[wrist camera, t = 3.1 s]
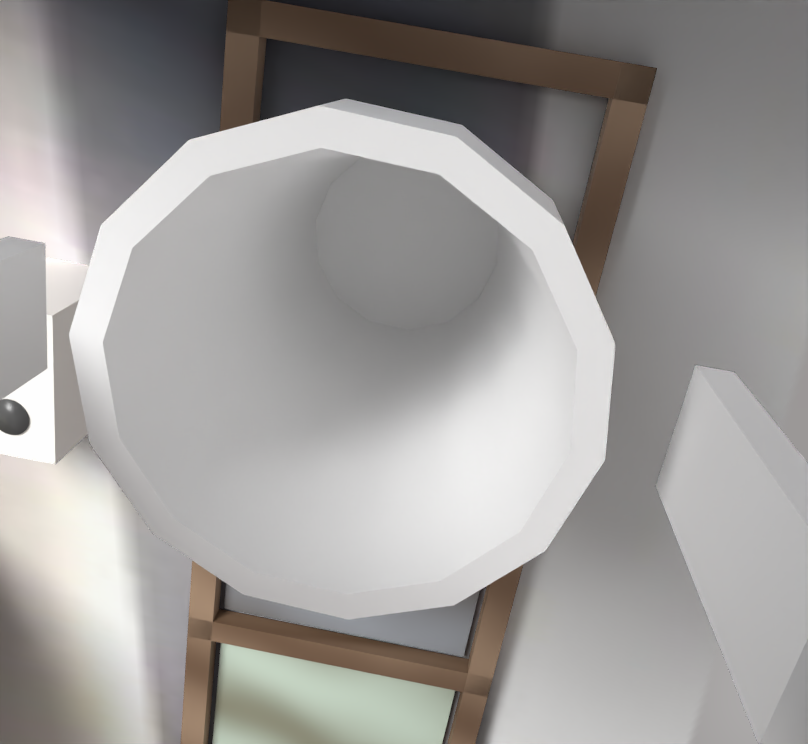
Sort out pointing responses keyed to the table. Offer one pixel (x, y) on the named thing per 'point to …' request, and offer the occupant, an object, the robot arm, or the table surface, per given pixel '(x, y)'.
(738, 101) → the table surface
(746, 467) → the robot arm
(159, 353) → the foam cup
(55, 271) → the white die
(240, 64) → the walnut frame
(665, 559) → the table surface
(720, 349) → the table surface
